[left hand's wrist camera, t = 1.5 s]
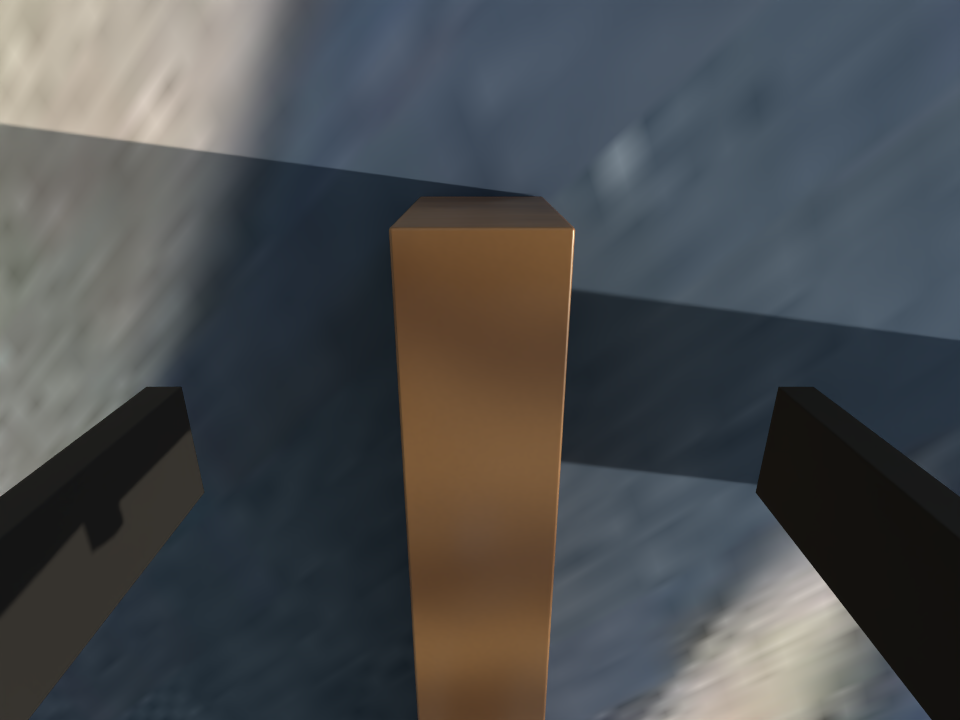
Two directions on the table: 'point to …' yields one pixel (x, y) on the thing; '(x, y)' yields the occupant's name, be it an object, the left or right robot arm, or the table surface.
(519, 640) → the post
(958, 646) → the left robot arm
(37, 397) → the table surface
